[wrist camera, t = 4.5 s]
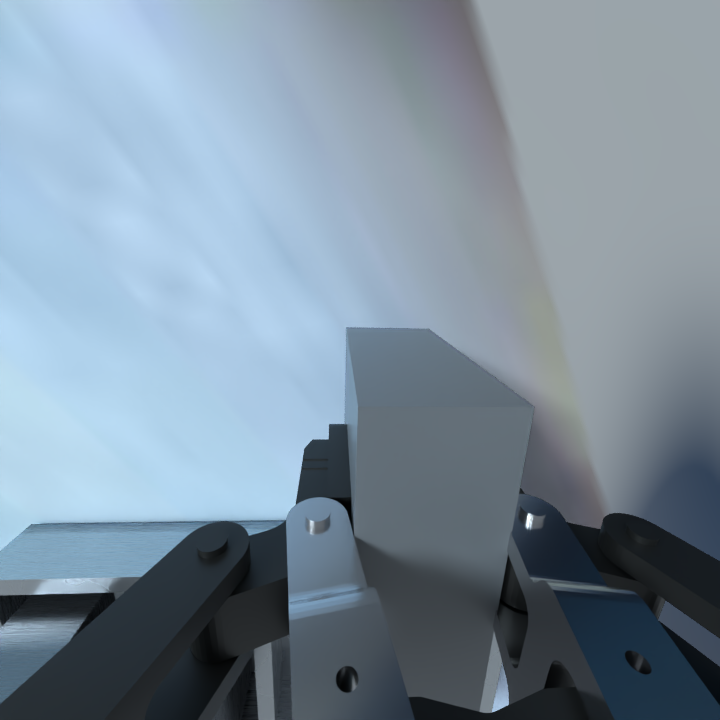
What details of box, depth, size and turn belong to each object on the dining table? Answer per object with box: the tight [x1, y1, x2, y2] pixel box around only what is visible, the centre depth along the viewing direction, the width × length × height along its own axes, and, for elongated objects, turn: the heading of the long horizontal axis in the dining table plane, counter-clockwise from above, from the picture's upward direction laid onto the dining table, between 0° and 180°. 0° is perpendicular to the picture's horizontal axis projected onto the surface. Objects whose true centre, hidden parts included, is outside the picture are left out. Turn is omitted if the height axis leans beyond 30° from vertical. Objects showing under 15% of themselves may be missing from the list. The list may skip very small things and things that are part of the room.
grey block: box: [345, 327, 535, 711], centre depth 10 cm, size 8×3×7 cm, turn 178°
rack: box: [0, 521, 502, 720], centre depth 16 cm, size 23×11×8 cm, turn 88°
